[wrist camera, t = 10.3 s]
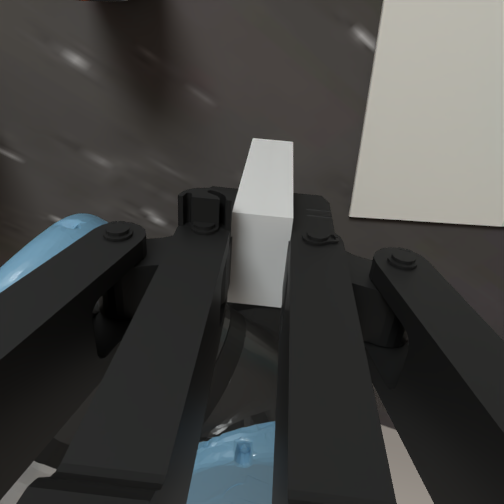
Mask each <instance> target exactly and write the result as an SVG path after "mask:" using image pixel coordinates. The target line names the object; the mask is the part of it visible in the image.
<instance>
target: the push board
mask: <svg viewBox="0 0 504 504" xmlns="http://www.w3.org/2000/svg"><path fill="white" fill-rule="evenodd" d="M349 217H362V218H377V219H392V220H408V221H423V222H439V223H454V224H469V225H485V226H500V227H502V226H504V0H383V4H382V10H381V16H380V22H379V29H378V35H377V41H376V47H375V54H374V60H373V66H372V73H371V79H370V85H369V91H368V98H367V104H366V110H365V116H364V123H363V129H362V135H361V141H360V148H359V154H358V160H357V167H356V173H355V179H354V185H353V192H352V198H351V204H350V210H349Z"/></svg>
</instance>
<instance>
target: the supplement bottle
mask: <svg viewBox="0 0 504 504" xmlns="http://www.w3.org/2000/svg"><path fill="white" fill-rule="evenodd" d="M81 1H126V0H81Z"/></svg>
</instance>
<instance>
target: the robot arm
mask: <svg viewBox="0 0 504 504" xmlns="http://www.w3.org/2000/svg"><path fill="white" fill-rule="evenodd" d="M372 383H373V385H374V387H375V389H376V391H377V393H378V395H379V397H380V399H381V400H382V402H383V404H384V406H385V408H386V410H387V412H388V414H389V416H390V418H391V420H392V422H393V424H394V426H395V428H396V430H397V432H398V434H399V436H400V438H401V440H402V442H403V444H404V446H405V447H406V449H407V451H408V453H409V455H410V457H411V459H412V461H413V463H414V465H415V467H416V469H417V471H418V473H419V475H420V477H421V479H422V481H423V483H424V485H425V487H426V489H427V491H428V493H429V494H430V496H431V498H432V500H433V502H434V504H504V341H503V340H502V339H501V338H500V337H499V336H498V335H497V334H496V333H495V332H494V331H493V329H492V328H491V327H490V326H489V325H488V324H487V323H486V322H485V321H484V320H483V319H482V318H481V317H480V316H479V315H478V314H477V313H476V311H475V310H474V309H473V308H472V307H471V306H470V305H469V304H468V303H467V302H466V301H465V300H464V299H463V298H462V297H461V296H460V294H459V293H458V292H457V291H456V290H455V289H454V288H453V287H452V286H451V285H450V284H449V283H448V282H447V281H446V280H445V279H444V277H443V276H442V275H441V274H440V273H439V272H438V271H437V270H436V269H435V268H434V267H433V266H432V265H431V264H430V263H429V262H428V261H427V260H426V259H425V258H423V257H422V256H421V255H419V254H416V253H414V252H413V251H411V250H408V249H406V250H405V249H404V248H383V249H380V250H378V251H376V252H375V255H374V257H373V261H372V260H369V259H365V258H361V257H358V256H355V255H353V254H351V253H349V252H347V251H345V248H344V243H343V241H342V239H341V237H340V236H338V235H337V234H335V232H334V226H333V221H332V215H331V210H330V204H329V202H328V201H327V200H325V199H324V198H323V197H322V196H318V195H307V194H297V193H293V142H288V141H278V140H267V139H257V138H253V140H252V143H251V147H250V150H249V154H248V157H247V161H246V164H245V168H244V172H243V175H242V179H241V182H240V186H239V189H234V188H223V187H213V186H212V187H211V188H194V189H189V190H186V191H183V192H181V193H180V194H179V195H178V227H177V229H176V232H175V234H174V236H170V237H165V238H155V239H146V232H145V229H144V228H142V227H141V226H140V225H137V224H134V223H129V222H125V221H119V222H117V221H115V222H110V223H108V222H106V221H104V220H103V219H101V218H99V217H97V216H94V215H91V214H83V213H82V214H75V215H71V216H68V217H66V218H64V219H62V220H60V221H58V222H56V223H55V224H53V225H52V226H50V227H49V228H47V229H46V230H45V231H43V232H42V233H41V234H39V235H38V236H37V237H35V238H34V239H33V240H32V241H30V242H29V243H28V244H27V245H26V246H24V247H23V248H22V249H21V250H20V251H19V252H17V253H16V254H15V255H14V256H13V257H12V258H11V259H9V260H8V261H7V262H6V263H5V264H4V265H3V266H2V267H1V268H0V504H397V503H396V499H395V494H394V489H393V484H392V479H391V474H390V469H389V464H388V459H387V454H386V449H385V445H384V440H383V435H382V430H381V425H380V420H379V415H378V410H377V405H376V400H375V395H374V390H373V386H372Z"/></svg>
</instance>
